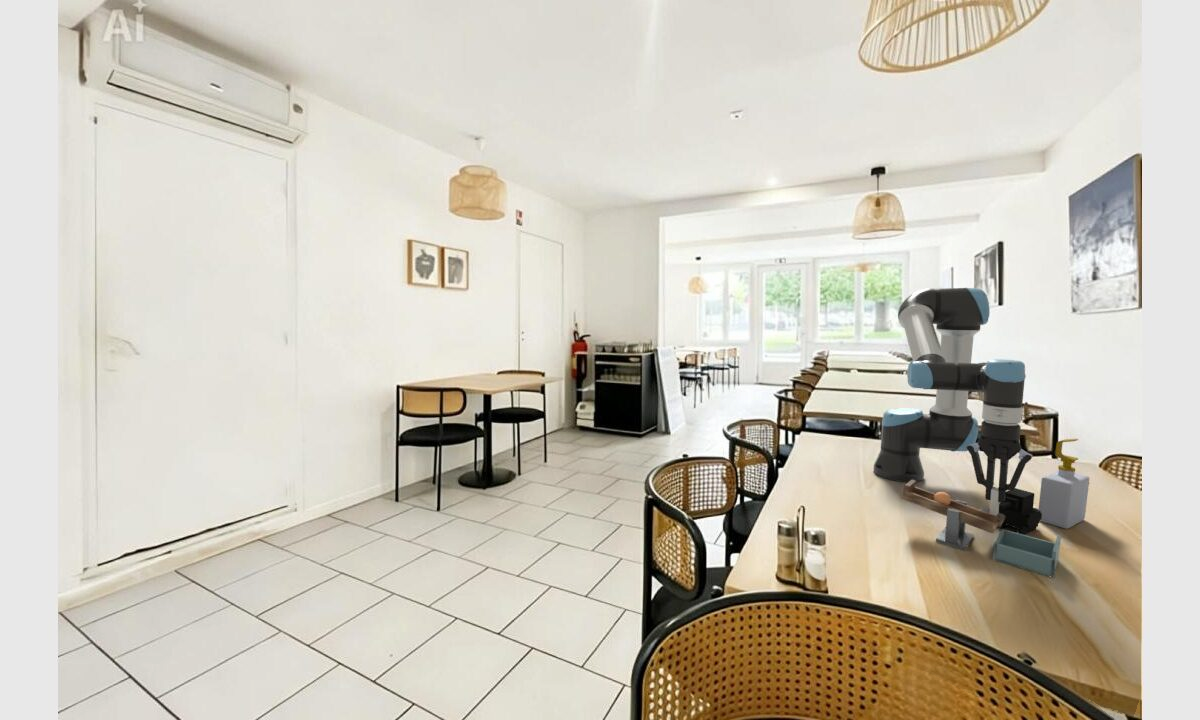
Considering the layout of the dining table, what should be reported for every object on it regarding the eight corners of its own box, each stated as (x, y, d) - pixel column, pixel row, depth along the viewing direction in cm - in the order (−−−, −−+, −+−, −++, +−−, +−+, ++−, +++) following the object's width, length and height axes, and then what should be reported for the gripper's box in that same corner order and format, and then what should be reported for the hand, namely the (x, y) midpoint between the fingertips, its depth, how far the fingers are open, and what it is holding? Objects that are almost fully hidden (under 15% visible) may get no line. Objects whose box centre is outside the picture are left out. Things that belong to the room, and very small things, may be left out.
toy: (980, 530, 130) (983, 494, 129) (1008, 519, 137) (1011, 485, 135) (1014, 542, 124) (1018, 504, 123) (1041, 530, 130) (1045, 494, 129)
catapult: (900, 498, 131) (904, 484, 130) (914, 486, 139) (917, 473, 138) (995, 535, 117) (1000, 520, 116) (1004, 519, 125) (1008, 505, 124)
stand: (935, 541, 124) (938, 508, 123) (945, 529, 131) (948, 497, 130) (964, 550, 120) (967, 515, 119) (973, 537, 126) (976, 503, 125)
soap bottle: (1067, 530, 130) (1077, 444, 127) (1036, 520, 136) (1044, 438, 133) (1085, 520, 136) (1095, 438, 133) (1054, 511, 142) (1063, 432, 139)
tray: (992, 559, 116) (994, 535, 115) (1000, 544, 123) (1002, 521, 122) (1053, 577, 108) (1056, 552, 107) (1058, 560, 115) (1061, 536, 114)
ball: (947, 494, 124) (950, 508, 124) (951, 490, 126) (953, 504, 126) (931, 493, 127) (933, 507, 127) (934, 489, 129) (937, 503, 129)
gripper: (965, 420, 123) (959, 510, 126) (1033, 429, 114) (1025, 526, 116) (971, 415, 128) (965, 502, 131) (1037, 423, 119) (1029, 517, 121)
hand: (993, 513), depth 124 cm, fingers closed
